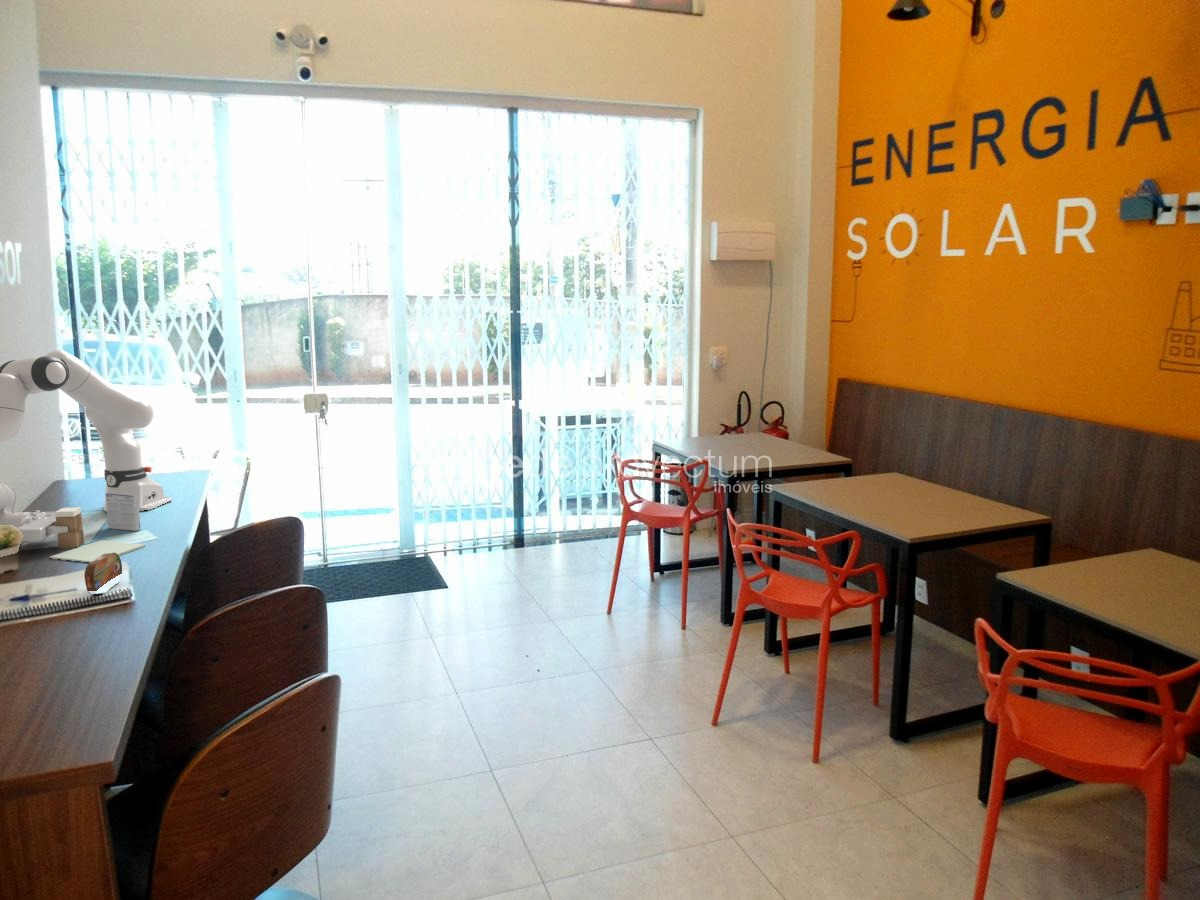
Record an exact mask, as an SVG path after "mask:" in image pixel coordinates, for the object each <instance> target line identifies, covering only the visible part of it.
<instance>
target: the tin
mask: <svg viewBox="0 0 1200 900" xmlns="http://www.w3.org/2000/svg"><path fill="white" fill-rule="evenodd" d="M84 570H85V571H84V575H83V576H84V582H85V587H86V591H87V592H88V591H97V590H98V589H99V588H100V587H102V586H103V585H104V584H106V583H107V582H108V581H110V580H111V579H113V578H115V577H116V576H118V575H120V574H122V573H123V563H122V560H121V557H120V556H119V555H118V554H117V553H107V554H103V555H101V556H100V557H98V558H97V559H95V560H94V561H92V562H91V563H87V565H86V568H85V569H84Z"/></svg>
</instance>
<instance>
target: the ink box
mask: <svg viewBox="0 0 1200 900" xmlns="http://www.w3.org/2000/svg"><path fill="white" fill-rule="evenodd" d="M104 493H105V495H106V501H107V512H106V514H107V527H108V529H110V528H111V530H112V529H113V530H120V531H121V530H123V531H130V530H131V531H132V532H138V531H137V530H139V531H141V518H140V511H139V504H134V503H133V496H129V495H118V494H107V493H106V492H104ZM119 497H120V498H122V499H123V500H116V498H119ZM131 531H130V532H131Z"/></svg>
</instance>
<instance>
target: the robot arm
mask: <svg viewBox="0 0 1200 900" xmlns="http://www.w3.org/2000/svg"><path fill="white" fill-rule="evenodd" d="M58 389H59V390H60V391H62V392H64V394H66V395H67V396H68V397H70V398H71V399H72V400H74V401H75V402H77V403H78V404H79V405H80V406H82V407H85V409H84V411H85V412H84V413H85V417H86V418H87V420H88V421H89V422H90V423H91V424H92V425H93V426H94V429H95V430H96V432H97V434H98V435H97V436H98V438H99V440H100V442H101V444H102V449H103V455H104V456H103V457H104V467H105V469H104V470H103V471H104V472H103V473H104V474H103V475H104V480H105V483H106V484H105V493H107V494H118V495H129V496H133V503H134V504H139V512H143V511H144V510H148V511H151V510H154V509H155V508H159V507H160V505H161V506H163V505H162V504H164V505H166V504H168V503H167V502H169V501H171V500H172V501H173V499H172V498H171V497H170V496H169V497H168V496H165V493H164V488H163V486H162V485H161V484H160V483H159V482H156V480H153V479H152V478H150V477H148V475H147V473H151V472H152V471H153V468H152V466H147V465H146V466H144V467H143V464H142V453H141V445H140V443H139V442H138V440H136V439H135V437H134V436H133V434H132V432H131V431H134V430H139V429H140V430H141V429H144V428H146V427H148V426H149V425H150V424H151V423H152V421H153V418H154V411H153V407H152V406H151V404H150V403H149V402H148V401H145V400H143V399H141V398H138V397H136V396H134V395H133V394H131V393H129V392H127V390H124V389H123V388H121V387H119V386H118V385H116V384H113V383H111V382H110V381H109V380H107V379H106V378H105V377H103V376H102V375H101V374H99V373H98V372H97V371H95V370H94V369H93V368H92V367H90V366H89V365H88V364H87V363H85V362H84V361H82V359H80V358H78V357H77V356H74V354H72V353H69V352H67V351H65V350H62V349H55V350H51V351H50V352H48V353H47V354H46V355H44V356H32V357H31V356H30V357H25V358H21V359H13V360H8V361H6V362H5V363H2V364H1V365H0V446H1V445H2V444H3V443H5V442H7V441H10V440H12V439H14V438H15V437H17V436H18V435H19V434H20V433H21V432H22V431H21V430H22V428H23V426H24V420H25V410H26V398H27V397H28V396H29V395H33V394H34V395H35V394H39V393H45V392H53V391H57V390H58ZM116 500H123V499H122V498H120V497H119V498H116ZM172 501H171V502H172ZM165 503H166V504H165ZM169 503H170V502H169ZM15 504H16V493H15V491H14V488H12V487H11V486H10V485H9V484H6V483H2V482H0V525H13V526H15V527H17V528H18V529H19V530H20V531H21V532H22V534H23V538H22V541H23V542H22V543H31V542H32V543H33V542H41V541H43V540H45V539H46V538H48V537H50V536H52V535H56V534H57V533H64V532H68V531H69V526H68V525H62V526H56V516H55V512H56V511H41V510H39V509H36V510H35V509H33V510H29V511H28V510H27V511H20V512H19V511H18V512H14V510H15V506H16V505H15ZM158 506H159V507H158ZM153 508H154V509H153ZM150 509H151V510H150ZM103 511H104V512H105V513H107V501H106V495H105V497H104V503H103ZM144 512H145V511H144Z"/></svg>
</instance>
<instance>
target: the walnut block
mask: <svg viewBox="0 0 1200 900" xmlns="http://www.w3.org/2000/svg"><path fill="white" fill-rule="evenodd" d="M54 512H55V516H56V526H62V525H68V526H69V531H68V532H64V533H57V543H58V544H57V545H58V549H59V548H60V549H75V547H81V546H82V545H84V544H85V538H84V527H83V525H84V524H83V516H82V507H81V506H80V507H79V506H78V507H62V508H60V509H58V510H56V511H54ZM83 543H84V544H83ZM81 544H82V545H81ZM80 545H81V546H80Z"/></svg>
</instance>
